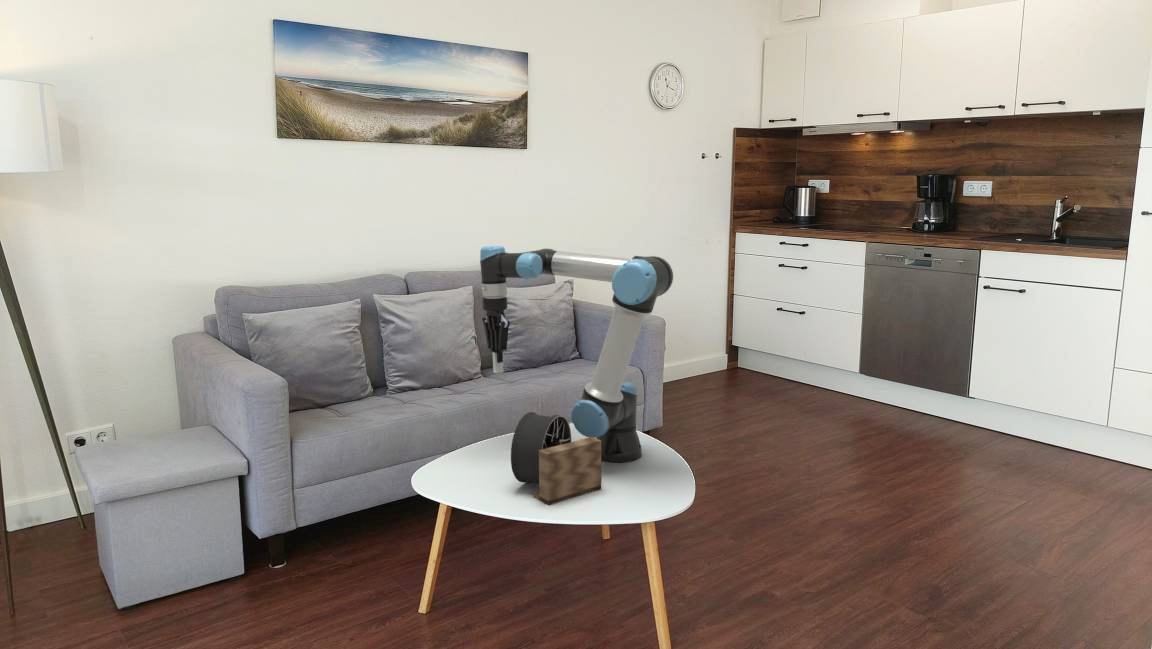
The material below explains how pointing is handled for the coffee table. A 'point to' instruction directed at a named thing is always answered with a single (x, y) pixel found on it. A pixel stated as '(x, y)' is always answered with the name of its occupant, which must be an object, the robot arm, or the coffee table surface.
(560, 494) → the stop board
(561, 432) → the wheel rim
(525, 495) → the coffee table surface
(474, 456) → the coffee table surface
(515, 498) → the coffee table surface
